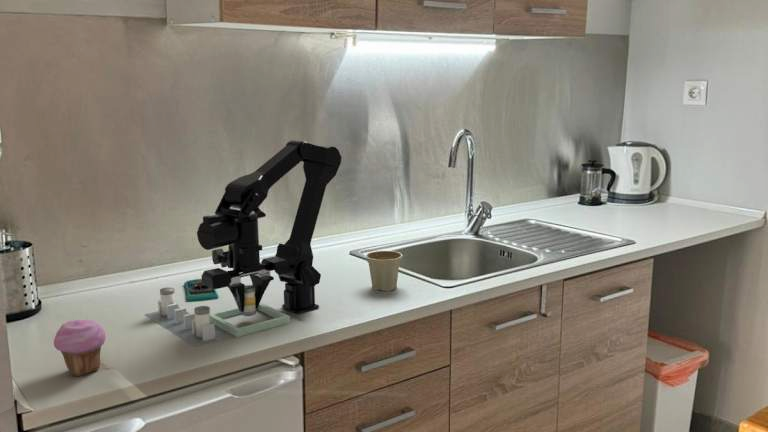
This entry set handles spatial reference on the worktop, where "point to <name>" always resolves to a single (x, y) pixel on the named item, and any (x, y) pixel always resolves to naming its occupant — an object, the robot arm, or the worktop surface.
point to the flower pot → (384, 269)
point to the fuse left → (166, 299)
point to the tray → (279, 320)
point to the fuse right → (201, 319)
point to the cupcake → (80, 345)
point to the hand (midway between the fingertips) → (248, 309)
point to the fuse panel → (185, 325)
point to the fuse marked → (249, 301)
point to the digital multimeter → (199, 291)
